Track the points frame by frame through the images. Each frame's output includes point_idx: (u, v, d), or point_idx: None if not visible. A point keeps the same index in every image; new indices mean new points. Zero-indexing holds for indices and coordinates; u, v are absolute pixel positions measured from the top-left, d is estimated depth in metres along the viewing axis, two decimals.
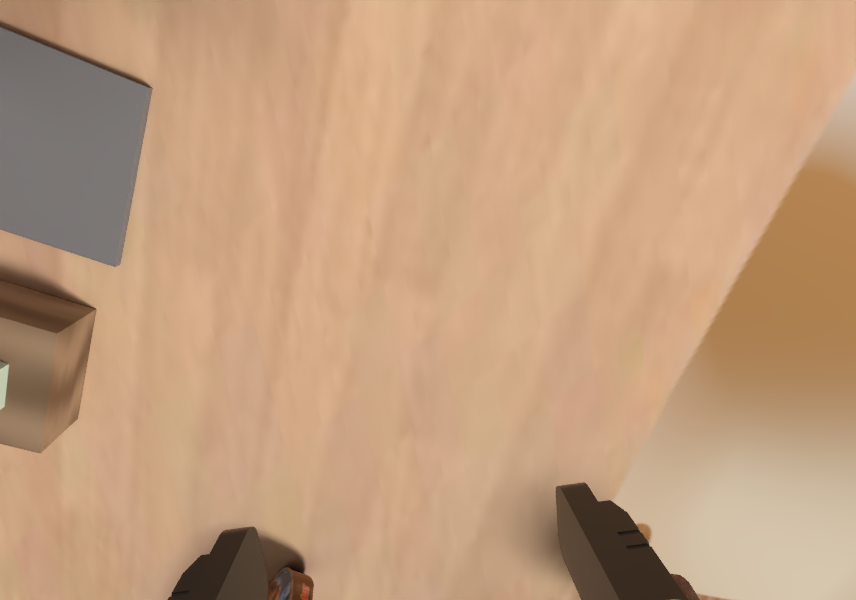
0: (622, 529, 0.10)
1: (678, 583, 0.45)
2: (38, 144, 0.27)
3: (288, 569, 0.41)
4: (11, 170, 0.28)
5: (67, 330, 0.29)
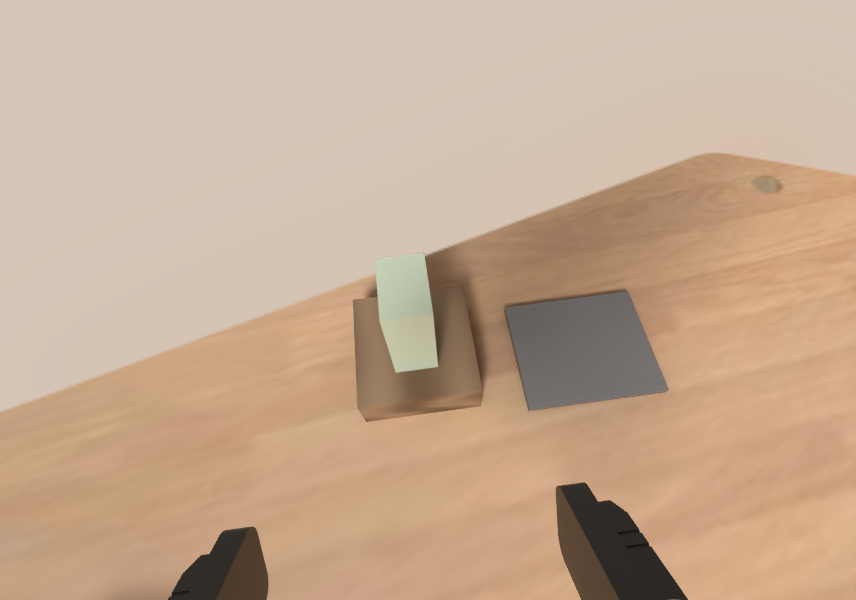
0: (622, 529, 0.10)
1: None
2: (584, 341, 0.41)
3: None
4: (556, 332, 0.41)
5: (479, 395, 0.36)
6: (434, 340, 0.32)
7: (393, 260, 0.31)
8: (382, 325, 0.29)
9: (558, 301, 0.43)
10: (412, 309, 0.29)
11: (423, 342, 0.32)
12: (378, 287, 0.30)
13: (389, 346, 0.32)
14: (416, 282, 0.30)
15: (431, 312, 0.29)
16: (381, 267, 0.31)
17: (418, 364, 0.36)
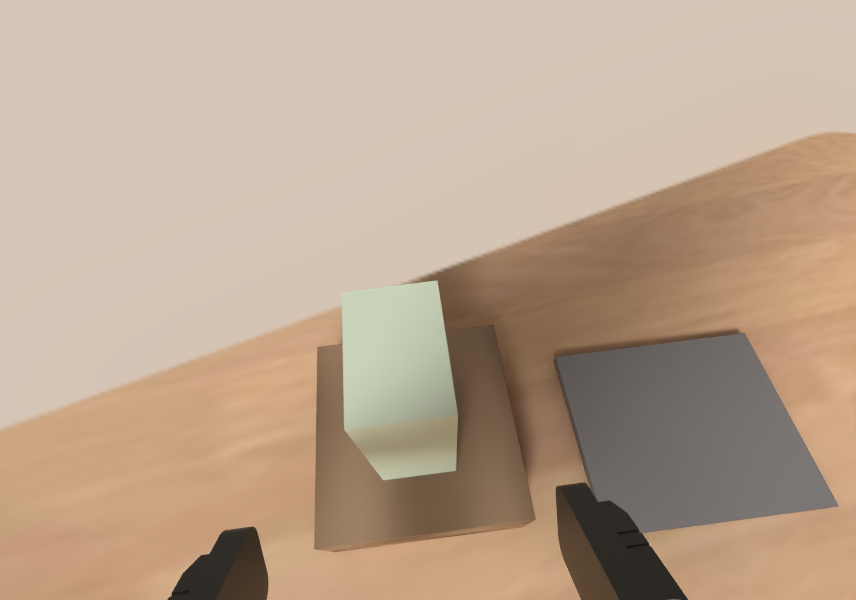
0: (622, 529, 0.10)
1: None
2: (686, 416, 0.26)
3: None
4: (640, 399, 0.26)
5: (526, 522, 0.21)
6: (454, 445, 0.17)
7: (377, 295, 0.16)
8: (351, 434, 0.14)
9: (638, 348, 0.28)
10: (413, 401, 0.14)
11: (433, 449, 0.17)
12: (345, 351, 0.15)
13: (369, 456, 0.17)
14: (422, 343, 0.15)
15: (454, 411, 0.14)
16: (353, 309, 0.16)
17: (422, 470, 0.20)
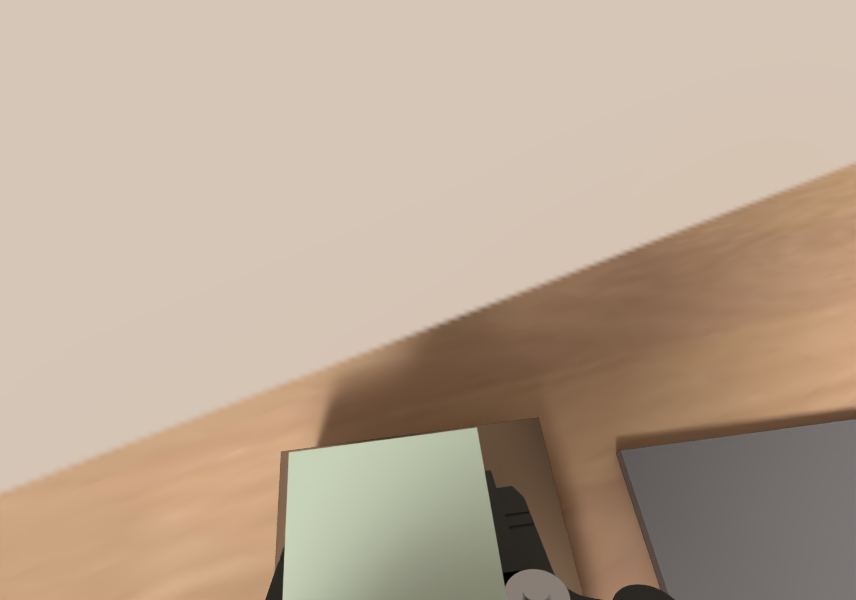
0: (514, 511, 0.11)
1: None
2: (818, 549, 0.18)
3: None
4: (747, 519, 0.18)
5: None
6: None
7: (359, 461, 0.08)
8: None
9: (736, 437, 0.20)
10: None
11: None
12: None
13: None
14: (451, 588, 0.07)
15: None
16: (310, 495, 0.08)
17: None
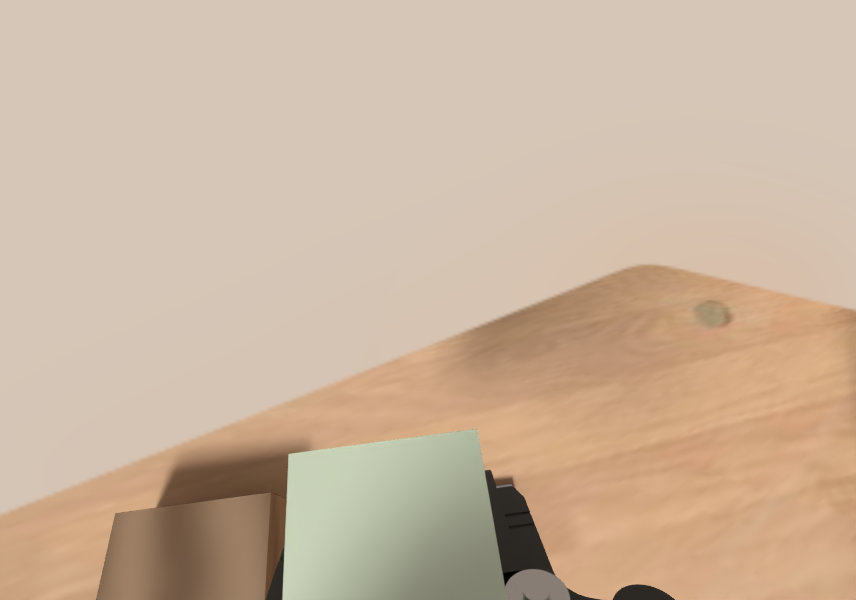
0: (514, 511, 0.11)
1: None
2: None
3: None
4: None
5: None
6: None
7: (359, 462, 0.08)
8: None
9: None
10: None
11: None
12: None
13: None
14: (452, 590, 0.07)
15: None
16: (310, 496, 0.08)
17: None
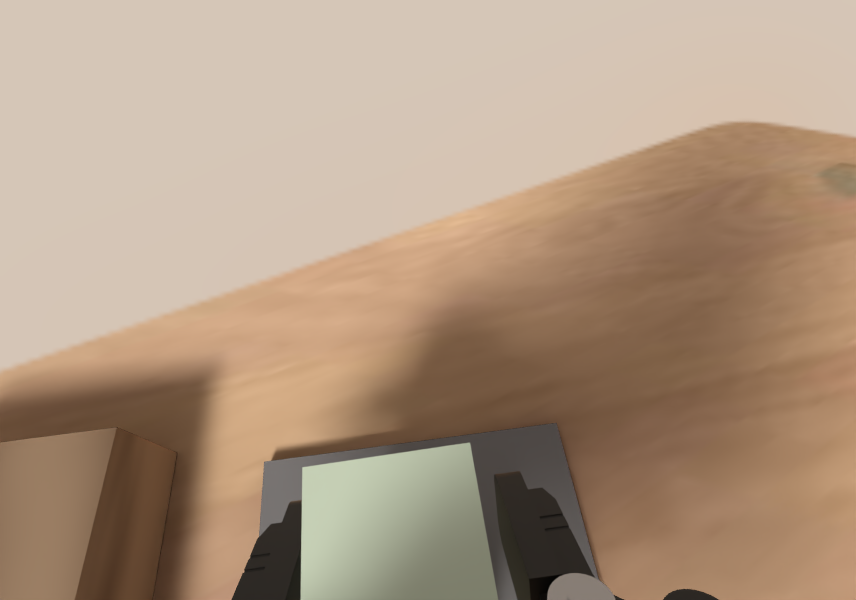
0: (547, 513, 0.11)
1: None
2: None
3: None
4: None
5: None
6: None
7: (365, 474, 0.09)
8: None
9: (392, 447, 0.18)
10: None
11: None
12: None
13: None
14: (449, 586, 0.08)
15: None
16: (323, 505, 0.09)
17: None
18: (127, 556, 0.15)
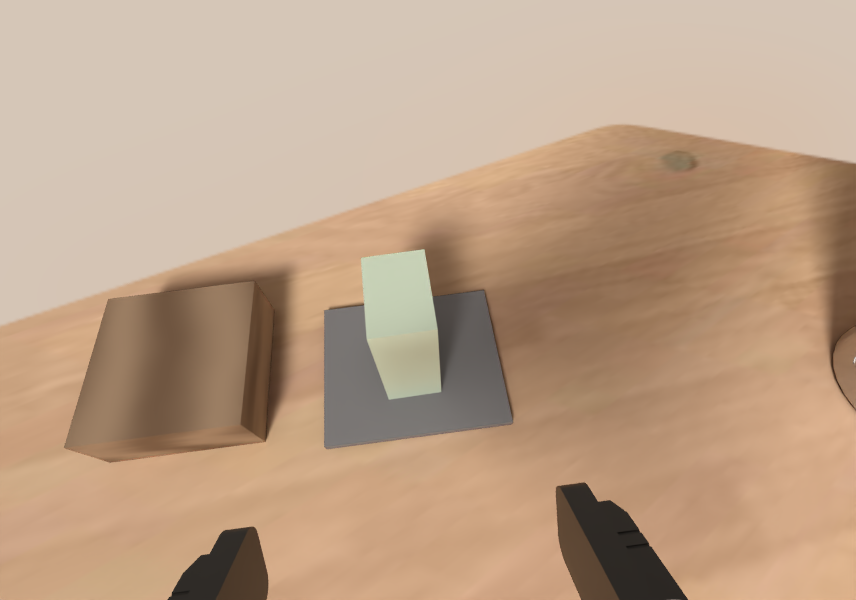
0: (622, 529, 0.10)
1: None
2: None
3: None
4: None
5: (242, 430, 0.26)
6: (438, 361, 0.25)
7: (385, 259, 0.24)
8: (370, 344, 0.22)
9: None
10: (409, 322, 0.22)
11: (424, 364, 0.25)
12: (365, 294, 0.23)
13: (380, 369, 0.25)
14: (414, 288, 0.23)
15: (435, 327, 0.22)
16: (369, 268, 0.24)
17: (416, 389, 0.29)
18: (261, 344, 0.30)
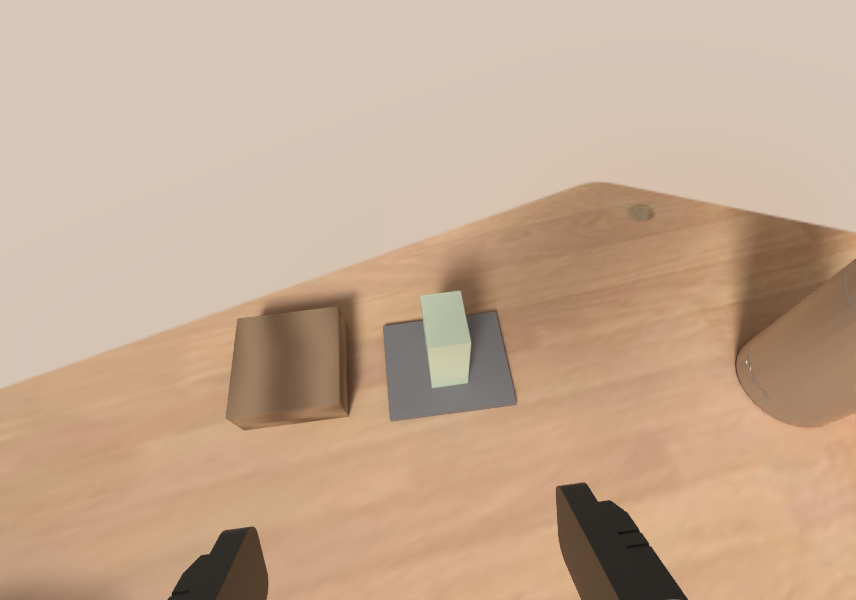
0: (622, 529, 0.10)
1: None
2: None
3: None
4: (425, 349, 0.45)
5: (339, 407, 0.40)
6: (468, 362, 0.39)
7: (435, 297, 0.38)
8: (429, 351, 0.36)
9: None
10: (453, 338, 0.36)
11: (459, 364, 0.39)
12: (424, 320, 0.37)
13: (431, 367, 0.39)
14: (455, 316, 0.37)
15: (469, 341, 0.36)
16: (426, 303, 0.38)
17: (451, 380, 0.42)
18: (343, 350, 0.44)
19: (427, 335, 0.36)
